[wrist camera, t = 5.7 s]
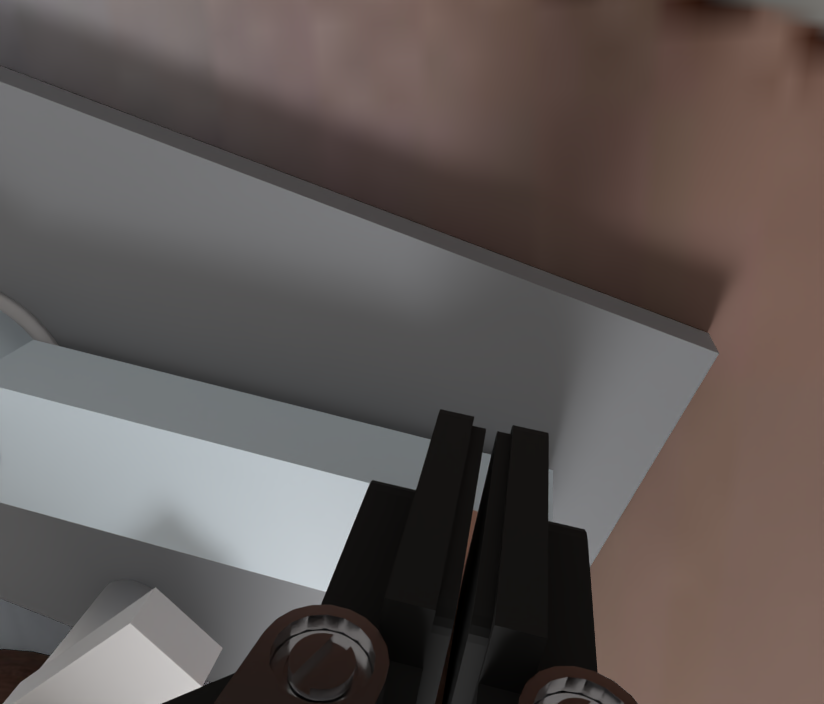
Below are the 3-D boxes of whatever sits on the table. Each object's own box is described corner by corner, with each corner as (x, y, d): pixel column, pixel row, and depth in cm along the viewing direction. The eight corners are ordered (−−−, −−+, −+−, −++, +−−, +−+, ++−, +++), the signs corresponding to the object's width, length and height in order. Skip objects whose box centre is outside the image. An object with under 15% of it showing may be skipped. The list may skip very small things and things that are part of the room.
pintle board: (-107, 522, 21) (-275, 648, 17) (-122, 19, 15) (-402, 14, 10) (464, 749, 21) (441, 936, 16) (708, 333, 14) (776, 462, 10)
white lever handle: (-95, 434, 18) (-534, 707, 11) (-124, 272, 16) (-683, 473, 9) (511, 598, 16) (480, 1038, 9) (562, 443, 14) (571, 848, 7)
